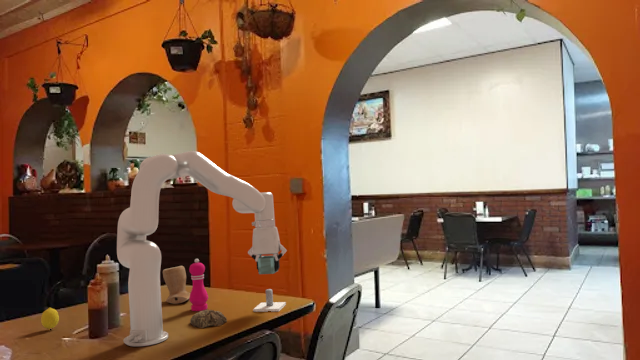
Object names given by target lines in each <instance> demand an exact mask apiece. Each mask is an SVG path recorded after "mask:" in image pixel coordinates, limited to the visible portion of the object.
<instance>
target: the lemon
mask: <svg viewBox="0 0 640 360" xmlns="http://www.w3.org/2000/svg"><path fill="white" fill-rule="evenodd" d="M40 319H41V321H40V322H41V325H42V326H43V328H45V329H47V330H49V329H50V328H53V329H54V328H55V327H56V326H57V325H58V324H59V320H60V316H59V312H58V311H57V310H56V309H55V308H52V307H48V308H47V309H45V310H44V311H43V312H42V314H41V317H40Z"/></svg>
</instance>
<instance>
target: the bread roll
mask: <svg viewBox="0 0 640 360" xmlns="http://www.w3.org/2000/svg"><path fill="white" fill-rule="evenodd" d="M189 322H190V325H192V327H196V328H199V329H204V328H207V327H213V326H214V327H220V326H222V325H224V324H225V323H227V322H228V319H227V317H226V316H225V315H224V314H223V312H221V311H220V310H214V309H206V310H203V311H197V312H196V313H194V314H193V315H192V316H191V318H190V320H189Z"/></svg>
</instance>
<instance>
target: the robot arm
mask: <svg viewBox="0 0 640 360" xmlns="http://www.w3.org/2000/svg"><path fill="white" fill-rule="evenodd" d="M182 177H191V178H192V179H193V180H195V181H197V182H198V183H199V184H201V185H202V186H203V187H205V188H206V189H207V190H209V191H210V192H212V193H215V194H217V195H222V196H225V197H228V198H229V197H230V198H232V201H231V202H232V208H233V209H234V210H235V212H237V213H239V214H254V221H252V222H251V226H252V227H253V226H254V227H255V228H253V229H252V246H251V247H250V249H248V251H247V254H248V255H249V256H250V257H251V258H252V259H253V260H254V261H255V263H256V270H257V272H258V273H259V270H258V258H260V257H262V256H264V255H272V256H274V258H275V261H274V265H275V271H277V272H279V270H280V268H281V267H280V260H281V258H283V256H284V254H286V252H287V251H288V250H287V249H286V248H285V247H284V245H282V244H281V241H280V234H279V231H278V227H277V226H276V219H275V218H276V217H275V208H274V207H275V206H274V195H273V193H272V192H270V191H267V192H265V191H264V192H260V191H259V190H258V189H257V188H255V186H253V185H251V184H250V183H248V182H246V181H245V180H242V179H241V178H238V177H237V176H235V175H232V174H229V173H227V172H226V171H225V170H224V169H222V168H221V167H219V166H217V164H215V163H214V162H213V161H212V160H210V159H209V158H208V157H206V156H205V155H204V154H202V152H199V151H196V150H189V151H184V152H180V153H175V154H174V153H173V154H169V153H161V154H155V155H154V156H153V155H152V156H149V157H147V158H145V159H143V161H142V162H141V163H140V165H139V171H138V172H137V173H136V176H135V178H134V179H133V182H132V186H131V192H130V193H131V194H130V195H131V196H130V202H129V203H130V205H129V207H128V208H125V209H124V210H123V211H122V212H121V214H120V215H119V218H118V221H117V231H116V232H117V235H116V255H117V260H118V262H119V263H120V264H121V266H123V267H125V268H127V269H129V272H128V281H127V282H128V285H127V286H128V288H127V289H128V305H129V321H130V323H129V324H130V330H129V335H127V336H126V337H124V338H123V343H124V344H125V345H127V346H130V347H147V346H154V345H156V344H159V343H163V342H164V341H166V340H167V339H168V338H169V332H167V331H165V330H164V328H163V327H164V326H163V310H162V289H161V265H162V251H161V250H160V247H159V246H158V245H157V243H155V242H153V241H150V240H148V239H147V236H150V235H152V234H153V233H155V232H156V230H157V228H158V227H159V226H158V225H159V213H160V211H159V206H160V205H159V204H160V194H161V193H160V192H161V189H162V187H163V185H164V183H165V182H166V181H167V180H172V179H177V178H182ZM280 251H281V252H280ZM279 252H280V253H279Z"/></svg>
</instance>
